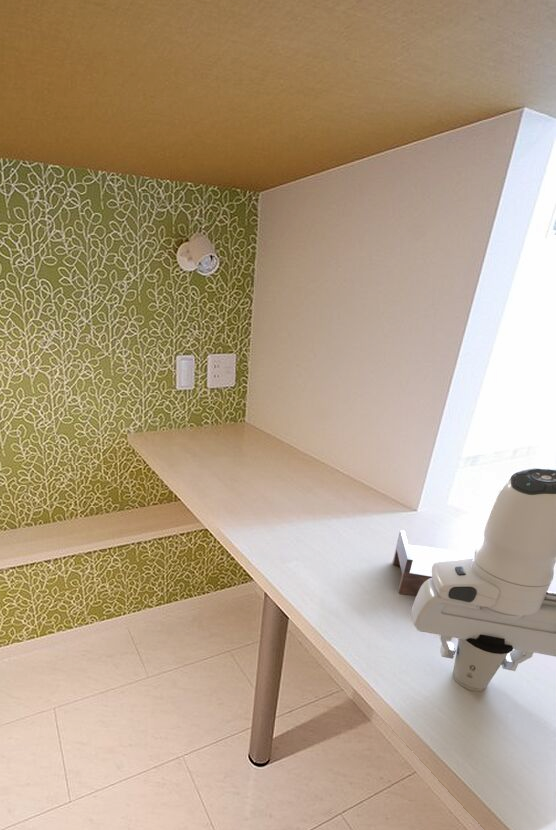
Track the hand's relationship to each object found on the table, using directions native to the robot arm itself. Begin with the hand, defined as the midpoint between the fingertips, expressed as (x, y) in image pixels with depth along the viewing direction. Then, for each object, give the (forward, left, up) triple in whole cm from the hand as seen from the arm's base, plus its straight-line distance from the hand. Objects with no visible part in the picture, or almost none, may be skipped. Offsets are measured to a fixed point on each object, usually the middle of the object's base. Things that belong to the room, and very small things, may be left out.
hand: (475, 660), depth 65 cm
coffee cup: (0, 0, -4) cm, 4 cm away
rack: (0, -26, -4) cm, 26 cm away
